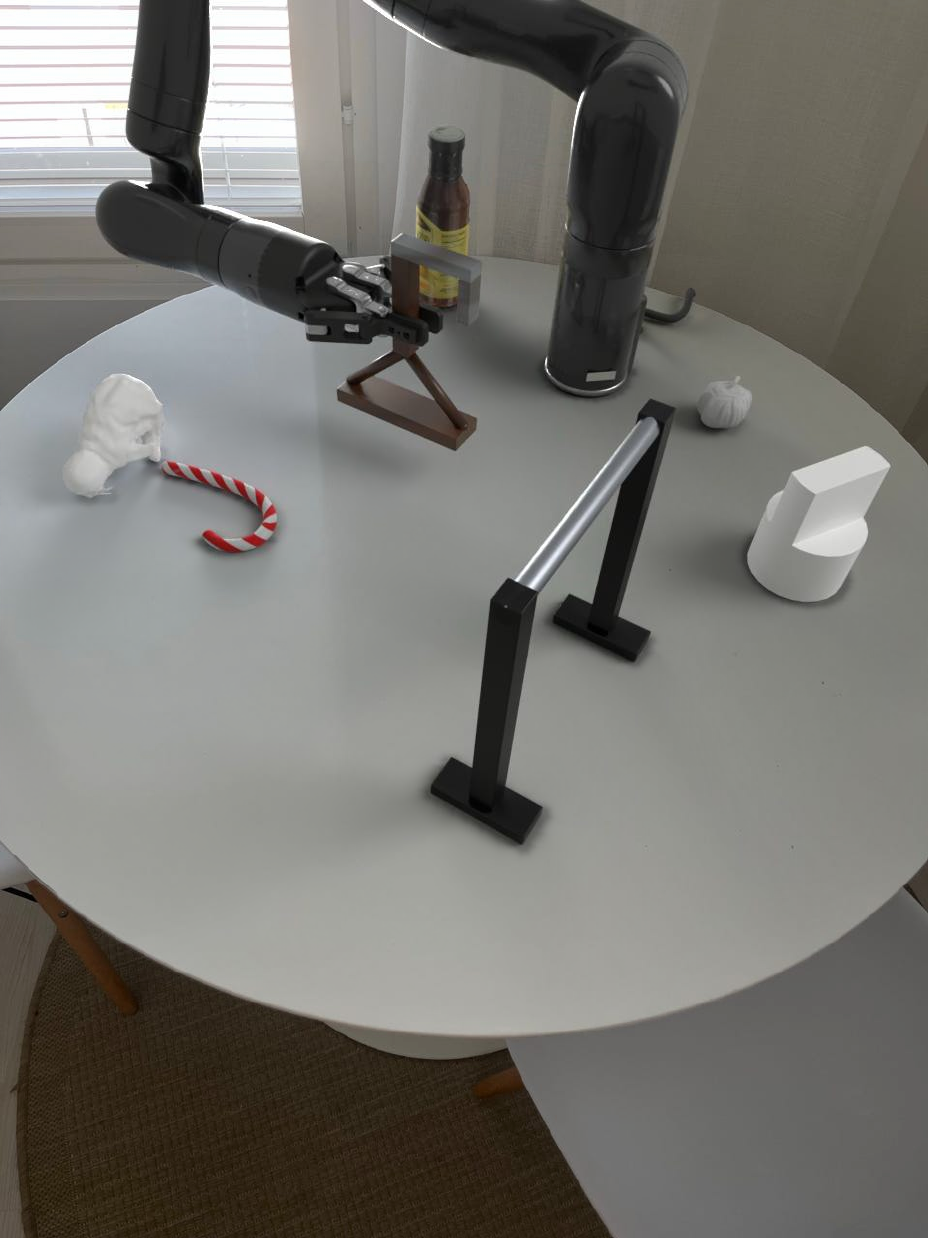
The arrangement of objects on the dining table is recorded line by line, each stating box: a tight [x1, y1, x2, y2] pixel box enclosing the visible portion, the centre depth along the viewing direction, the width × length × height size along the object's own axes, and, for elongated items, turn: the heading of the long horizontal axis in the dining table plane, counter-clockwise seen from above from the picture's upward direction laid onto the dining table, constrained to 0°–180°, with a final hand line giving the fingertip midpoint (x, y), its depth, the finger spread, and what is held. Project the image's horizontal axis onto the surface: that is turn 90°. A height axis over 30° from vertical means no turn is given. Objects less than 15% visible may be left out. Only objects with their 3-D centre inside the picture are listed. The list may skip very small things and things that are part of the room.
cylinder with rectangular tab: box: [746, 445, 891, 603], centre depth 81 cm, size 9×9×12 cm
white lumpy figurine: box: [62, 373, 165, 499], centre depth 87 cm, size 6×8×12 cm
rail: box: [430, 398, 677, 846], centre depth 65 cm, size 23×8×24 cm, turn 149°
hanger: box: [336, 233, 483, 452], centre depth 83 cm, size 14×4×18 cm, turn 59°
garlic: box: [696, 375, 753, 429], centre depth 98 cm, size 6×5×5 cm
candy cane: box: [161, 460, 278, 553], centre depth 87 cm, size 8×1×15 cm
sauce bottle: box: [415, 124, 471, 309], centre depth 105 cm, size 6×6×20 cm
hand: (433, 328), depth 81 cm, fingers closed on hanger, 2 cm apart
